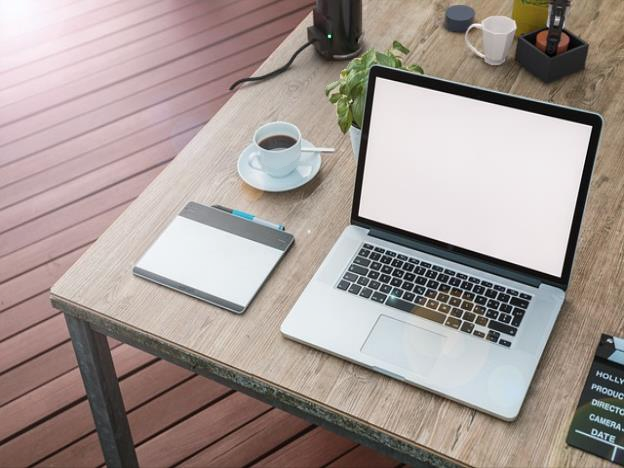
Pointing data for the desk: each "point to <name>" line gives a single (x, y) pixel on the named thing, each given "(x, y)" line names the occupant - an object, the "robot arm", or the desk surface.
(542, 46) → the terracotta disc
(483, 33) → the cup
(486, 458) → the desk surface
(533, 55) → the tub
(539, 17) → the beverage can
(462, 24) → the dark blue short cylinder
